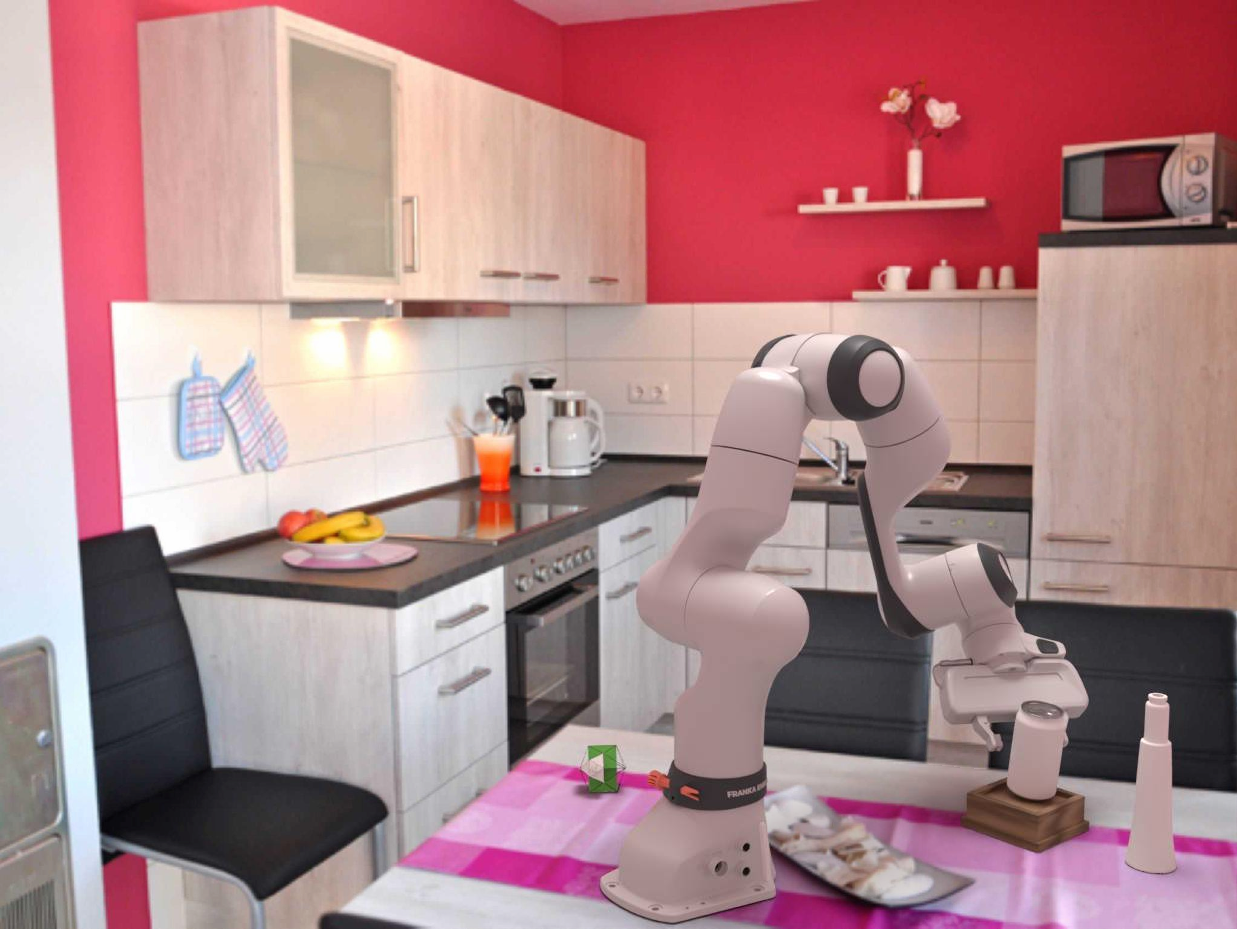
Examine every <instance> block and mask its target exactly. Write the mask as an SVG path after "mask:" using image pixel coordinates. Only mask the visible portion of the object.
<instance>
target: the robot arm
mask: <svg viewBox="0 0 1237 929" xmlns="http://www.w3.org/2000/svg"><path fill="white" fill-rule="evenodd" d="M753 358H754V359H753V361H752V363H751V365H750V368H747V369H746V370H743V371H741V372H740V373H738V375H736V377H735V378H734V379H733V381H732V383H731V385H730V387H729V390H728V392H727V394H726V396H725V399H724V401H723V404H722V406H721V409H720V412H719V415H718V418H717V420H716V423H715V424H716V425H715V428H714V431H713V434H712V439H711V443H710V447H709V450H708V455H707V459H706V464H705V468H704V472H703V476H702V480H701V483H700V487H699V491H698V495H697V498H696V502H695V505H694V507H693V510H692V512H691V514H690V517H689V519H688V521H687V523H686V525H685V527H684V528H683V530H682V532H681V534H679V537H678V538H677V540H676V541H675V543H674V545H673V546H672V547H671V548H670V550H669V551H668V552H667V553H666V554H665V555H664V556H663V557H662V558H661V559H659V560H657V561H656V562H654V563H653V564H652V565H650V566H649V567H648V569H646V571H645V572H644V573H643V574H642V575H641V578H640V580H639V582H638V584H637V588H636V593H635V594H636V595H635V603H636V606H635V607H636V609H637V614H638V616H639V617H640V620H641V621H642V622H643V624H644V625H645V626H647V627H648V628H649V629H650V630H652V631H653V632H655V633H656V634H657V635H659V636H661V637H662V638H664V639H665V640H667V641H668V642H671V643H673V644H676V645H679V646H682V647H684V648H685V647H686V648H688V649H691V650H694V651H698V652H699V654H700V667H699V672H698V675H697V678H696V680H695V683H694V684H692V685H691V686H689V687H688V688H687V689H685V690H684V691H683V692H681V693H680V694H679V696H678V697H677V699H676V701H675V702H674V706H673V712H674V713H673V715H674V716H673V722H674V724H673V727H674V728H673V744H674V745H673V759H672V760H671V763H670V766H669V769H668V772H667V774H666V773H662V772H660V771H658V770H656V769H653V770H651V771H650V772H649V773H648V775H647V779H646V781H647V784H648V785H649V787H652V788H656V789H657V790H659V791H662V796H660V798H659V799H658V800H657V801H656V802H655V804H654V805H653V806H652V807H651V808H650V809H649V811H647V812H646V814H644V816H643V817H642V818H641V819H640V821H638V822H637V824H636V825H635V826H634V827H633V828H632V829H631V830H630V831H629V832H628V833H627V834H626V835H625V837H624V839H623V842H622V846H621V849H620V853H619V854H620V856H619V864H618V865H619V866H618V867H617V868H616V869H614V870H611V871H610V872H607V873H606V874H604V875H602V876H601V877H600V883H599V887H600V889H601V891H602V893H603V894H604V895H605V896H606V897H607V898H608V899H610V900H611V901H612V902H613V903H615V904H616V905H618V906H620V907H622V908H624V909H626V910H627V911H629V912H631V913H634V914H636V915H639V916H642V917H644V918H647V919H651V920H653V921H654V920H655V921H659V922H664V923H673V924H674V923H678V922H683V921H687V920H691V919H694V918H698V917H699V918H700V917H703V916H706V915H710V914H714V913H718V912H723V911H725V910H729V909H734V908H737V907H741V906H742V907H743V906H746V905H749V904H753V903H757V902H760V901H764V900H769V899H772V898H774V897H776V895H777V892H776V891H777V890H776V885H775V882H774V881H775V879H776V876H777V872H776V868H775V865H774V862H773V858H772V855H771V854H772V853H771V849H770V842H769V841H770V840H769V832H768V823H767V817H766V811H765V810H766V808H765V797H766V795H767V792H768V782H769V781H768V780H769V779H768V776H767V775H768V774H767V772H768V770H767V764H766V762H765V761H764V747H765V746H764V745H765V744H764V743H765V742H764V740H765V718H766V717H765V716H766V708H767V702H768V698H769V694H770V691H771V688H772V686H773V683H774V681H775V678H776V677H777V675H778V673H779V672H780V671H781V669H782V668H784V667H785V666H786V665H787V664H789V663H790V662H792V661H793V660H794V659H795V658H796V657H797V656H798V655H799V653H800V652H801V650H802V649H803V647H804V646H805V644H806V641H807V639H808V635H809V630H810V615H809V610H808V606H807V604H806V601H805V599H804V598H803V596H802V595H801V594H800V593H799V592H798V591H797V590H795V589H793V588H791V587H790V586H788V585H787V584H784V583H783V582H781V581H779V580H777V579H775V578H773V577H772V576H770V575H766V574H762V573H758V572H754V571H750V570H746V568H747V566H748V564H749V562H750V561H751V558H752V556H753V555H754V553H755V552H756V550H758V548H759V546H760V545H762V544H763V543H764V542H765V541H766V540H767V539H770V538H771V537H774V536H775V535H777V534H778V533H779V532H781V530H782V529H783V527H784V526H785V524H786V521H787V517H788V512H789V508H790V505H791V500H792V494H793V489H794V487H795V481H796V477H797V473H798V468H799V463H800V458H801V453H802V447H803V441H804V439H803V438H804V433H805V430H806V429H807V427H808V425H809V424H810V423H811V422H812V421H813V419H814V420H817V421H821V422H822V421H824V422H826V421H827V422H836V421H837V422H838V421H840V422H841V421H853V422H854V423H855V426H856V428H857V432H858V434H859V436H860V438H861V441H862V442H863V446H864V449H865V453H866V455H865V456H866V462H865V463H866V464H865V467H864V471H862V472H861V473H860V475H859V476H858V477H857V481H856V482H857V483H856V492H857V499H858V500H857V501H858V505H859V510H860V514H861V520H862V524H863V529H864V534H865V538H866V543H867V548H868V552H869V555H870V559H871V563H872V569H873V573H874V576H875V581H876V596H877V597H876V598H877V604H878V609H879V613H880V616H881V619H882V621H883V622H884V624H885V625H886V627H887V628H888V630H889V632H891V633H893V634H895V635H898V636H900V637H903V638H906V639H908V640H909V639H910V640H914V641H915V640H917V639H919V638H922V637H923V636H926V635H928V634H930V633H931V634H932V632H933V633H934V632H936V630H938V629H942V628H945V627H949V626H951V625H954V624H955V626H956V627H957V628H958V631H959V632H960V635H961V640H960V641H961V642H960V643H961V647H962V650H963V654H964V657H965V658H959V659H942V660H940V661H939V663H935V665H933V668H932V670H931V671H932V672H931V673H932V678H933V681H934V684H935V685H936V687H937V688H938V695H939V703H940V709H941V713H942V716H943V719H944V720H945V721H946V722H947V723H948V724H949V725H953V726H954V725H957V726H958V725H971V726H972V729H973V731H974V732H975V733H976V734H977V735H978V736H979V737H980V738H981V739H982V740H984V741H985V744H986V747H987V750H988V752H1001V750H1002V749H1003V747H1004V744H1003V741H1002V737H1001V734H1000V733H997V734H996V733H994V732H993V731H992V730H991V728H990V727H989V726H988V725H987V724H988V723H989V724H991V723H992V724H993V723H1008V722H1009V723H1011V722H1012V723H1013V722H1015V719H1016V715H1017V713H1018V711H1019V710H1020V709H1021V704H1022V703H1023V702H1025V701H1030V700H1038V701H1045V702H1049V703H1052V704H1055V705H1057V706H1059V707H1060V708H1061V709H1062V710H1063V711H1064V715H1063V717H1064V719H1065V723H1066V727H1065V735H1064V742H1063V748H1065V747H1066V746H1068V744H1069V738H1068V736H1067V732H1066V730H1067V727H1068V722H1069V719H1077V718H1079V717H1081V715H1082V714H1083V713H1084V712H1085V710H1086V709H1087V708H1088V705H1089V701H1090V700H1089V696H1088V693H1087V690H1086V688H1085V686H1084V683H1083V681H1082V679H1081V677H1080V675H1079V673H1078V670H1077V669H1076V668H1075V666H1074V665H1073V664H1072V662H1070V661H1069V660H1067V659H1065V657H1066V654H1067V651H1066V650H1067V649H1066V647H1065V645H1064V643H1061V642H1060V641H1057V640H1052V639H1048V638H1044V637H1040V636H1036V635H1033V634H1030V633H1027V632H1025V629H1024V628H1023V626H1022V624H1021V623H1020V622H1019V621H1018V619H1017V616H1016V607H1015V603H1016V600H1017V598H1018V594H1019V592H1018V589H1017V588H1016V586H1015V584H1014V580H1013V576H1012V574H1011V570H1010V567H1009V564H1008V560H1007V559H1006V557H1005V556H1004V554H1003V553H1002V552H1001V551H999V550H998V549H996V548H994V547H992V546H991V545H988V544H986V543H982V542H976V543H970V544H967V545H964V546H961V547H958V548H955V549H952V550H950V551H946V552H945V553H941V554H939V555H937V556H934V557H931V558H928V559H925V560H922V561H919V562H916V563H913V564H904V563H902V561H901V557H900V553H899V549H898V547H899V546H898V544H897V538H896V533H895V528H894V521H895V519H896V517H897V515H898V514H899V513H900V512H901V510H902V509H903V508H904V507H905V506H906V505H907V504H909V503H910V501H912V500H913V499H914V498H915V497H917V496H918V495H919V494H920V493H922V492H923V491H924V490H926V489H927V488H928V487H929V486H930V485H931V484H932V483H933V482H935V480H936V479H938V477H939V476H940V474H941V473H942V472H943V470H944V468H945V467H946V465H947V463H948V461H949V458H950V454H951V451H952V450H951V449H952V439H951V436H950V435H951V434H950V431H949V427H948V424H947V421H946V419H945V416H944V413H943V410H942V409H941V405H940V403H939V401H938V399H937V396H936V395H935V392H934V391H933V389H932V387H931V385H930V383H929V382H928V379H927V378H926V377H925V375H924V373H923V372H922V370H921V368H920V367H919V365H918V364H917V363H916V361H915V359H913V357H912V355H910V353H909V352H908V351H907V350H905V349H903V348H902V347H898V346H894V345H890V344H889V343H887V342H885V341H884V340H882V339H880V338H876V337H874V336H871V335H867V334H865V335H864V334H855V335H849V334H843V333H842V334H841V333H832V332H826V331H825V332H824V331H823V332H822V331H820V332H810V333H802V334H795V333H793V334H792V333H790V334H785V335H781V336H777V337H776V338H774V339H772V340H769V341H768V342H766V343H765V344H764V345H763V346H762V347H761V348H760V349H759V350H758V352H757V353H756V355H755V357H753ZM1030 704H1039V703H1030Z"/></svg>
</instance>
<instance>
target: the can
mask: <svg viewBox="0 0 1237 929" xmlns="http://www.w3.org/2000/svg"><path fill="white" fill-rule="evenodd" d="M1030 703H1039V704H1030ZM1063 715H1064V711H1063V710H1062V709H1061V708H1060V707H1059V706H1057V705H1055V704H1052V703H1049V702H1045V701H1038V700H1030V701H1025V702H1023V703H1022V704H1021V709H1020V710H1019V711H1018V713H1017V715H1016V719H1015V721H1014V727H1013V733H1012V734H1013V735H1012V740H1011V748H1010V757H1009V763H1008V770H1007V776H1006V777H1007V786H1008V787H1009V789H1010V790H1011V791H1012V792H1013V793H1014V794H1016V795H1018V796H1020V797H1022V798H1025V799H1029V800H1036V801H1042V800H1048V799H1050V798H1051V797H1053V796H1054V795H1055V793H1056V789H1057V788H1058V782H1059V775H1060V774H1059V773H1060V768H1061V761H1062V754H1063V748H1064V747H1063V742H1064V735H1065V732H1066V730H1065V727H1066V723H1065V719H1064V717H1063ZM1066 728H1067V727H1066Z"/></svg>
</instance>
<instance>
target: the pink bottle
mask: <svg viewBox="0 0 1237 929" xmlns="http://www.w3.org/2000/svg"><path fill="white" fill-rule="evenodd" d="M1147 699H1148V700H1147V701H1145V708H1144V709H1145V710H1144V712H1145V713H1144V733H1143V737H1142V738H1141V739H1140V741H1139V750H1138V760H1137V770H1136V782H1135V791H1134V802H1133V810H1132V811H1133V813H1132V821H1131V827H1130V828H1131V829H1130V833H1129V839H1128V840H1129V841H1128V844H1127V850H1126V853H1125V857H1124V861H1125V863H1126V864H1127V865H1128V866H1129V867H1131V868H1132V867H1133V869H1135V870H1137V871H1141V872H1143V871H1144V872H1143V873H1149V874H1156V873H1160V874H1161V873H1163V874H1168V873H1172V872H1174V871H1176V869H1177V860H1176V852H1175V844H1174V832H1173V830H1174V829H1173V828H1174V827H1173V766H1172V765H1173V764H1172V763H1173V758H1172V757H1173V755H1172V754H1173V753H1172V742H1171V741H1170V740H1169V724H1170V704H1169V703H1168V702H1167V701H1168V696H1167V695H1166V694H1163V693H1159V692H1153V693H1149V694H1148V696H1147ZM1160 874H1159V875H1160Z"/></svg>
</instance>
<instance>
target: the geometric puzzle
mask: <svg viewBox="0 0 1237 929" xmlns="http://www.w3.org/2000/svg"><path fill="white" fill-rule="evenodd" d="M618 748H619V747H618V746H617V744H602V745H600V744H599V745H598V744H597V745H590V744H589V745H588V744H587V748H586V750H585V753H584V756H583V758H582V762H581V764H580V767H579V769H578V770H579V773H581V777H582V778H583V782H584V784H585V786H586V788H587V791H588V793H589V792H591V793H606V792H605V791H618V792H619V790H620V789H619V788H620V785H621V782H622V780H623V778H624V775H625V771H626V769H627V768H628V767H626V765H625V764H624V763H625V762H624V759H623V757H622V756H621V753H620V750H619V749H618ZM617 751H618V755H619V757H620V761H621V762H622V763H620V762H618V761H617ZM586 753H587V757H588V758H587V762H586V763H584V764H583V761H584V759H585V756H586ZM582 765H583V766H582ZM618 766H619V767H618ZM618 769H621V770H620V771H618ZM622 771H623V772H622ZM621 772H622V774H621V778H620V781H619V784H618V774H619V773H621ZM583 773H584V774H585V775H587V776H588V784H587V783H586V780H585V777H584V775H583ZM587 785H588V786H587Z"/></svg>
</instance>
